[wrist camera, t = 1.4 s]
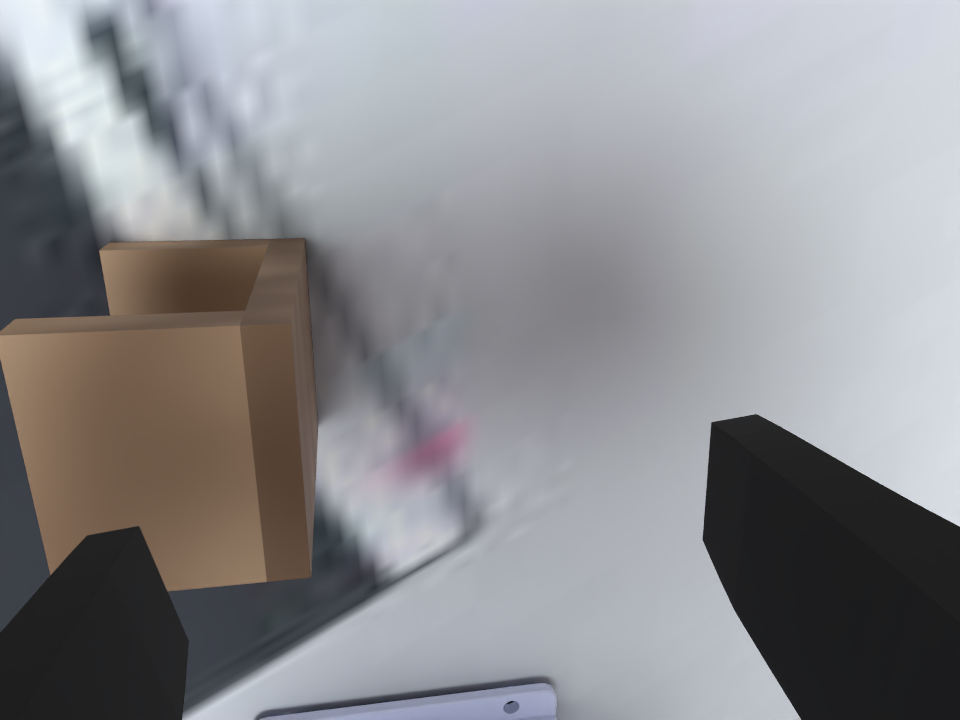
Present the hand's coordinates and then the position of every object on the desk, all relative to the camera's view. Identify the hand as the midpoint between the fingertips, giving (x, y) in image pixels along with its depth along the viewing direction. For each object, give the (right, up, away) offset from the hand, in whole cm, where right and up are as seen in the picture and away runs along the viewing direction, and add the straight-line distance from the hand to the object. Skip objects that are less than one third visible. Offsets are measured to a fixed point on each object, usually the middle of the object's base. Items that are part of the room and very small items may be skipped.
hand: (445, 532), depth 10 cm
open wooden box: (-6, +3, +9) cm, 11 cm away
